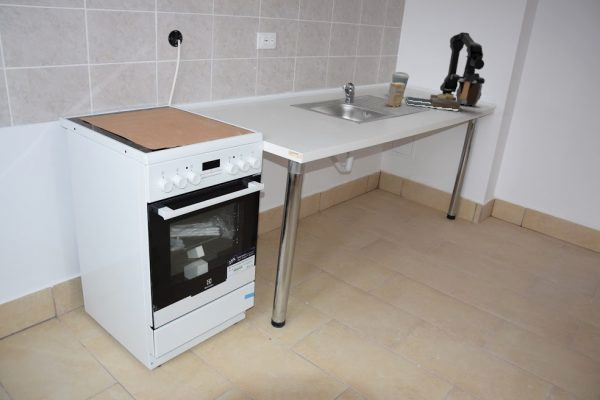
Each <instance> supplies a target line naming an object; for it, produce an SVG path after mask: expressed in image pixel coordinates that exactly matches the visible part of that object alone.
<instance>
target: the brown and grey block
mask: <svg viewBox="0 0 600 400" xmlns="http://www.w3.org/2000/svg"><path fill="white" fill-rule="evenodd" d="M463 82H464V84H463V90H462V93H461V94H460V97H458V101H459V102H460V103H462V104H466V103H467V100H466V98H467V94H468V90H469V85H470V82H469V81H463Z"/></svg>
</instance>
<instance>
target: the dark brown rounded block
mask: <svg viewBox="0 0 600 400" xmlns="http://www.w3.org/2000/svg"><path fill="white" fill-rule="evenodd" d="M479 77H481V76H480V75H479ZM463 81H466V80H463ZM469 82H470V81H469ZM482 88H483V84H481V83H478V82H476V84H474V85H473V86H472V88H471V89H470V91H469V92H468V94H467V98H466V100H467V103H466V104H464V105H463V106H466V105H472V106H471V107H474V106H475V107H476V105H477V104H478V101H479V100H480V99H481V96H482ZM460 94H461V91H460V84H459V85H458V87H457V89H456V94H455V96H456V101H457V102H459V101H458V97H460ZM461 104H462V103H460V105H461Z"/></svg>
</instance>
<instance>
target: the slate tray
mask: <svg viewBox="0 0 600 400" xmlns="http://www.w3.org/2000/svg"><path fill="white" fill-rule="evenodd" d="M404 100H406V101H407V103H408V104H414V105H425V106H433V105H434V104H429V103H421V102H413V101H422V102H430V98H429V99H428V98H421V97H413V96H405V99H404ZM409 100H413V101H409ZM406 101H405V102H406ZM407 103H406V104H407Z"/></svg>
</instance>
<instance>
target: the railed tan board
mask: <svg viewBox="0 0 600 400" xmlns="http://www.w3.org/2000/svg"><path fill="white" fill-rule="evenodd" d="M437 97H438V94H430V98H429V99H430V103H431V104H434V105H433V107H442V108H452V109H459V110H460V107H461V104H460V102H457V96H456V97H453V101H447V100H439V99H437Z"/></svg>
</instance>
